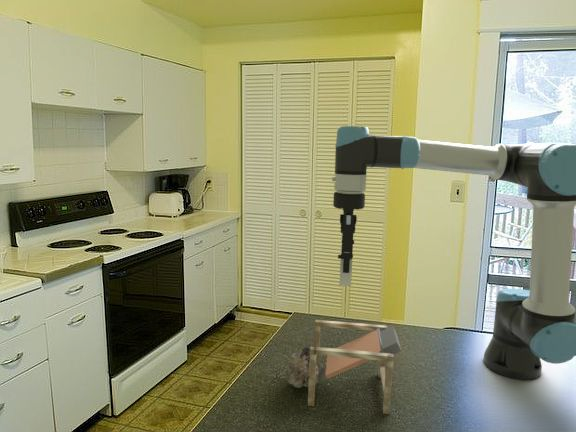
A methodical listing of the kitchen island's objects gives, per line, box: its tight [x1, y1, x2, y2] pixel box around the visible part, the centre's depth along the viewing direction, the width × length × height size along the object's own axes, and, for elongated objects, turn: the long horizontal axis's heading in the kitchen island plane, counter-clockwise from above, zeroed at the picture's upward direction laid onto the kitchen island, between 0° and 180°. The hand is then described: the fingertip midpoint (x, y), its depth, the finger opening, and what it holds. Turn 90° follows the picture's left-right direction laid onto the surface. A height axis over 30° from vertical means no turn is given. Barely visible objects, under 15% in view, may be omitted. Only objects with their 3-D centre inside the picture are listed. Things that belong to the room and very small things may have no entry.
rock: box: [285, 347, 326, 389], centre depth 113 cm, size 9×12×10 cm
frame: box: [307, 319, 395, 415], centre depth 114 cm, size 20×18×15 cm
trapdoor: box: [324, 325, 402, 380], centre depth 113 cm, size 19×14×3 cm
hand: (345, 276), depth 110 cm, fingers open, 13 cm apart
